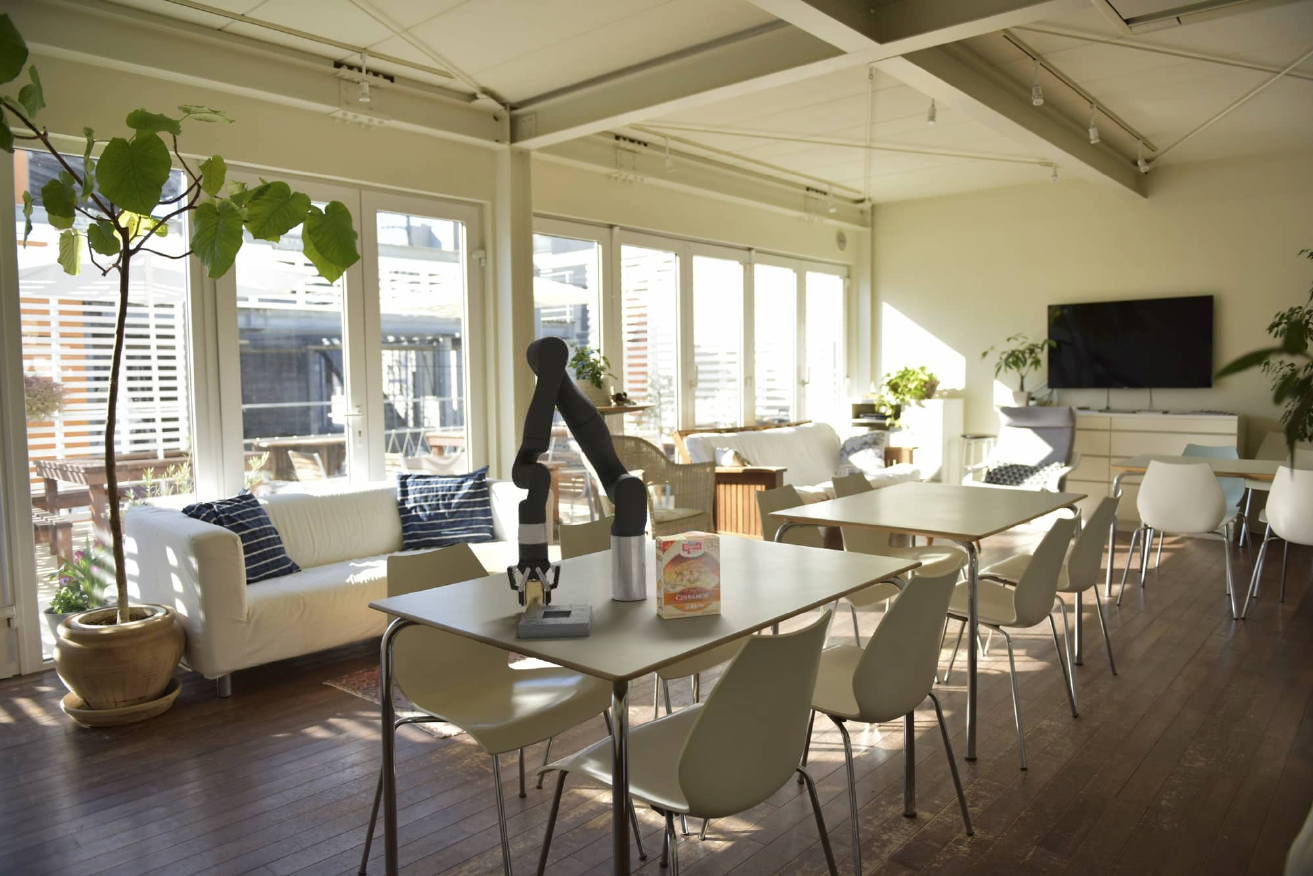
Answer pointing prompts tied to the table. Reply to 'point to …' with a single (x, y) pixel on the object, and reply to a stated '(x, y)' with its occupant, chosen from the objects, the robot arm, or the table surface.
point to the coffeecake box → (688, 575)
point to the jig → (556, 621)
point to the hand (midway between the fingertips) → (535, 605)
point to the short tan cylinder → (534, 593)
